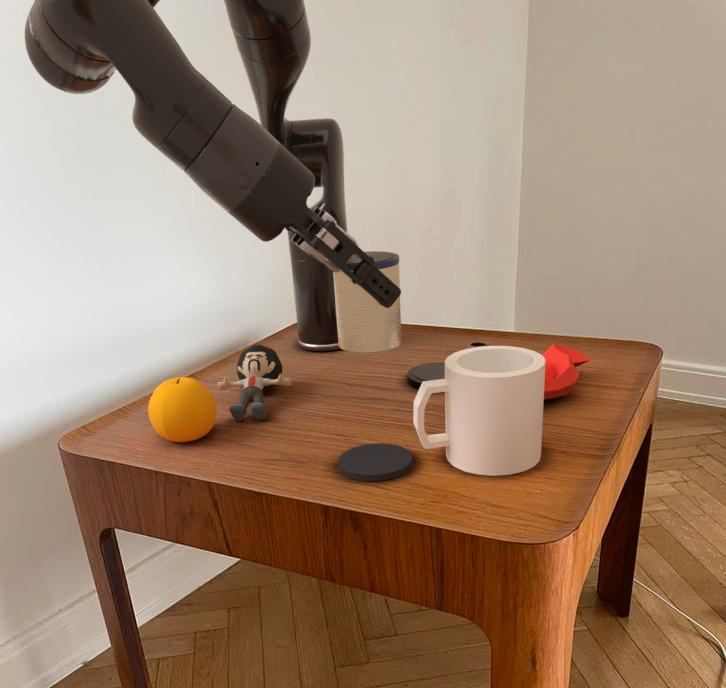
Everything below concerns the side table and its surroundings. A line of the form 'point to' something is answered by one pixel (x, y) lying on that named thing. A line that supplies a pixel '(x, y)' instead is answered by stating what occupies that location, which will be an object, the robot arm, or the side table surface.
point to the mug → (488, 409)
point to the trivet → (375, 462)
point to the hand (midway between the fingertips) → (382, 292)
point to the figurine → (255, 380)
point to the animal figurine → (561, 370)
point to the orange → (182, 409)
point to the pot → (367, 309)
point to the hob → (425, 374)
